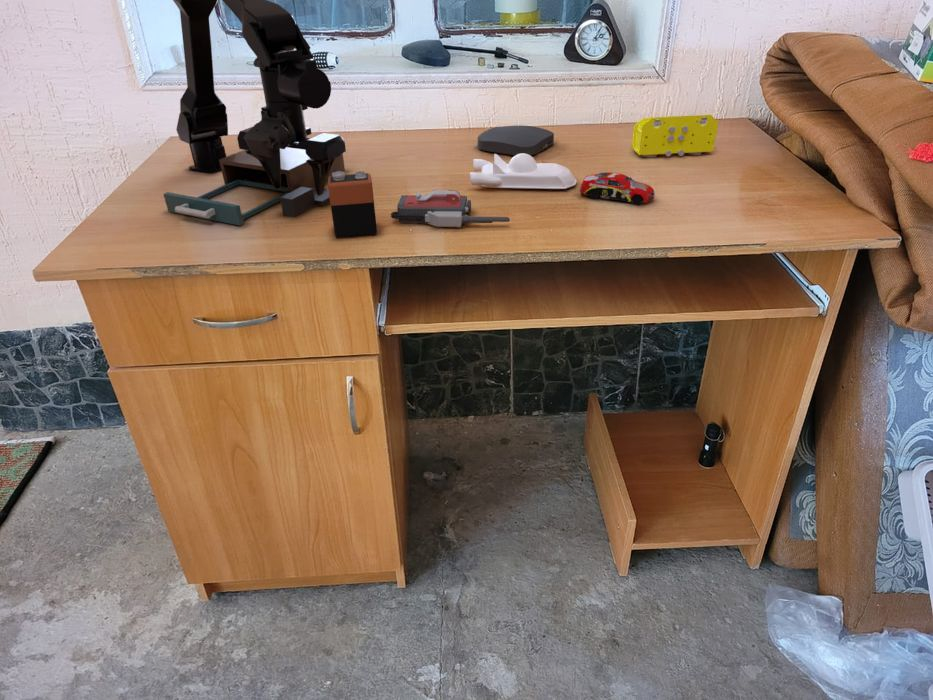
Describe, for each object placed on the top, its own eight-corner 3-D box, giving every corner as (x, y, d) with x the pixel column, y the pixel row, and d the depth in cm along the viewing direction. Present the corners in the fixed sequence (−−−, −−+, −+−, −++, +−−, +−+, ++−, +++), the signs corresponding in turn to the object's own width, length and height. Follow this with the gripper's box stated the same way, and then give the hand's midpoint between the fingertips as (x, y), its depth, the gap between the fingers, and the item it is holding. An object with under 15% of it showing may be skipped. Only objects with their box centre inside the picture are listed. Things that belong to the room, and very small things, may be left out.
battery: (335, 229, 108) (326, 170, 103) (376, 225, 109) (369, 166, 103) (335, 239, 104) (326, 178, 99) (377, 235, 105) (371, 175, 100)
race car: (656, 198, 117) (660, 176, 115) (649, 208, 113) (652, 185, 111) (586, 187, 122) (588, 166, 120) (577, 196, 118) (578, 175, 116)
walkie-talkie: (388, 229, 108) (509, 230, 106) (386, 203, 105) (509, 204, 104) (397, 209, 115) (510, 210, 113) (395, 185, 112) (511, 185, 111)
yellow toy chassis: (639, 159, 136) (644, 118, 131) (630, 151, 140) (635, 111, 136) (713, 155, 137) (720, 115, 132) (702, 148, 141) (709, 108, 137)
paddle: (276, 213, 114) (272, 196, 113) (317, 191, 123) (314, 175, 122) (301, 218, 112) (298, 200, 111) (341, 195, 121) (339, 179, 120)
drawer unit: (293, 198, 120) (288, 170, 117) (225, 187, 127) (219, 159, 124) (345, 171, 133) (341, 145, 130) (281, 162, 139) (276, 137, 136)
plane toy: (578, 194, 119) (580, 162, 116) (469, 193, 121) (469, 162, 118) (574, 175, 128) (576, 146, 125) (473, 175, 129) (473, 146, 126)
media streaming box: (471, 150, 144) (470, 136, 142) (503, 134, 154) (503, 121, 152) (529, 159, 137) (530, 145, 135) (559, 142, 147) (560, 128, 146)
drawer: (230, 230, 108) (225, 212, 106) (157, 216, 114) (152, 198, 112) (301, 193, 122) (299, 176, 120) (234, 182, 128) (230, 165, 127)
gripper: (203, 104, 103) (225, 199, 112) (298, 115, 96) (314, 215, 105) (251, 90, 111) (268, 179, 120) (341, 99, 104) (353, 192, 113)
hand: (298, 191), depth 114 cm, fingers open, 9 cm apart
